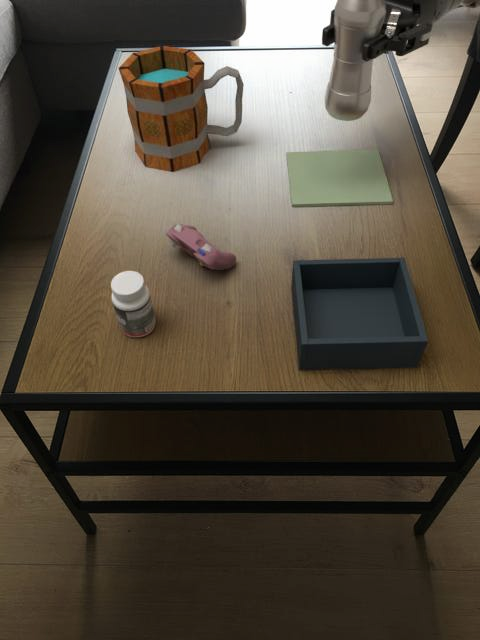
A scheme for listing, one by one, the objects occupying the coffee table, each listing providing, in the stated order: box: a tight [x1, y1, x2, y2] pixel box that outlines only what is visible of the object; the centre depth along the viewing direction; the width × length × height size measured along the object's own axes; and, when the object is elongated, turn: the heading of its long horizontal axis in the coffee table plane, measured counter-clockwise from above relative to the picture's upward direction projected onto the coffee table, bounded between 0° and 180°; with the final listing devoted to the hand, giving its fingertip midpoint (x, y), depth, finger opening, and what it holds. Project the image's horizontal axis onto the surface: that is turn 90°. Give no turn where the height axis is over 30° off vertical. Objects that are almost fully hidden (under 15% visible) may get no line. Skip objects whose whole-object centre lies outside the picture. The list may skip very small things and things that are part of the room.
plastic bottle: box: [324, 0, 386, 122], centre depth 73 cm, size 6×7×20 cm
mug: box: [118, 45, 245, 173], centre depth 90 cm, size 20×14×15 cm
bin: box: [290, 257, 429, 371], centre depth 68 cm, size 15×14×6 cm
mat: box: [285, 149, 394, 208], centre depth 90 cm, size 16×14×1 cm
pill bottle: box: [110, 270, 157, 338], centre depth 68 cm, size 5×5×8 cm
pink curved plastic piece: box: [165, 222, 237, 270], centre depth 77 cm, size 10×5×7 cm, turn 45°
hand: (344, 45), depth 71 cm, fingers closed on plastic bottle, 6 cm apart
